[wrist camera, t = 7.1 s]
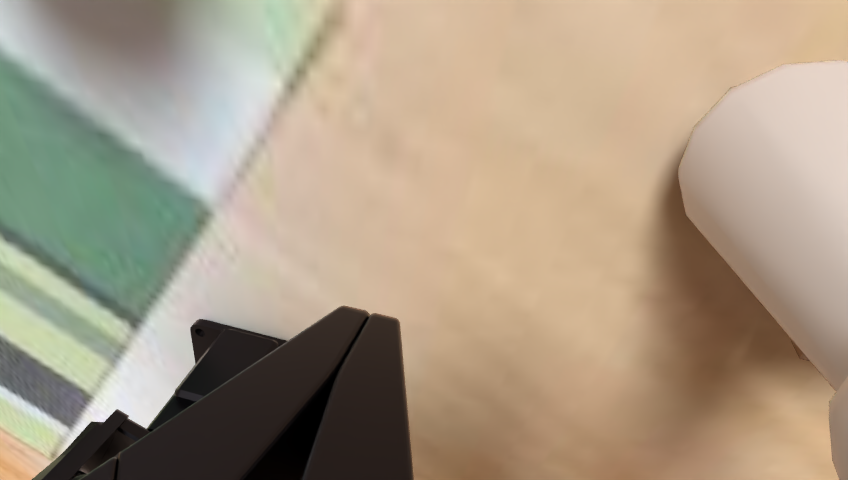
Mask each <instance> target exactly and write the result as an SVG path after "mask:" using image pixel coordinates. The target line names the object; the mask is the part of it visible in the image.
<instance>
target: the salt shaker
mask: <svg viewBox="0 0 848 480" xmlns="http://www.w3.org/2000/svg"><path fill="white" fill-rule="evenodd" d="M678 178H679V183H680V188H681V193H682V198H683V203H684V208H685V213H686V216H687V217H688V218H689V219H690V220H691V222H692V223H693V224H694V225H695V226H696V227H697V229H698V230H699V231H700V232H701V233H702V234H703V236H704V237H705V238H706V239H707V240H708V241H709V243H710V244H711V245H712V246H713V247H714V249H715V250H716V251H717V252H718V253H719V254H720V256H721V257H722V258H723V259H724V260H725V261H726V263H727V264H728V265H729V266H730V267H731V268H732V270H733V271H734V272H735V273H736V274H737V276H738V277H739V278H740V279H741V280H742V281H743V283H744V284H745V285H746V286H747V287H748V288H749V290H750V291H751V292H752V293H753V294H754V296H755V297H756V298H757V299H758V300H759V301H760V303H761V304H762V305H763V306H764V307H765V308H766V310H767V311H768V312H769V313H770V314H771V315H772V317H773V318H774V319H775V320H776V321H777V323H778V324H779V325H780V326H781V327H782V328H783V330H784V331H785V332H786V333H787V334H788V335H789V337H790V338H791V339H792V340H793V341H794V342H795V344H796V345H797V346H798V347H799V348H800V350H801V351H802V352H803V353H804V354H805V355H806V357H807V358H808V359H809V360H810V361H811V362H812V364H813V365H814V366H815V367H816V368H817V370H818V371H819V372H820V373H821V374H822V375H823V377H824V378H825V379H826V380H827V381H828V382H829V384H830V385H831V386H832V387H833V388H834V389H835V391H836V393H835V394H834V396H833V397H832V399H831V400H830V401H829V424H830V437H831V450H832V461H833V463H834V466H835V469H836V472H837V474H838V477H839V480H848V62H846V61H842V60H833V61H820V62H808V63H795V64H783V65H781V66H778V67H776V68H774V69H772V70H770V71H768V72H766V73H764V74H761V75H759V76H757V77H755V78H753V79H751V80H749V81H747V82H744V83H742V84H740V85H738V86H735V87H731V88H730V89H729V90H728V92H727V93H726V94H725V95H724V96H723V97H722V98H721V99H720V100H719V101H718V102H717V103H716V104H715V105H714V106H713V107H712V108H711V110H710V111H709V112H708V113H707V114H706V115H705V116H704V117H703V118H702V119H701V120H700V121H699V122H698V123H697V124H696V125H695V126H694V128H693V131H692V134H691V136H690V139H689V142H688V144H687V147H686V150H685V152H684V155H683V157H682V160H681V163H680V165H679V168H678Z"/></svg>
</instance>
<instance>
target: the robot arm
mask: <svg viewBox="0 0 848 480" xmlns="http://www.w3.org/2000/svg"><path fill="white" fill-rule="evenodd" d="M191 337H192V343H193V350H194V356H195V363H196V364H195V366H194V367H193V368H192V370H191V371H190V372H189V373H188V375H187V376H186V377H185V378H184V380H183V381H182V382H181V384H180V385H179V386H178V387H177V389H176V390H175V393H174V395H173V396H172V397H171V398H170V400H169V401H168V402H167V404H166V405H165V406H164V407H163V409H162V410H161V411H160V412H159V414H158V415H157V416H156V417H155V419H154V420H153V421H152V423H151V424H150V425H149V426H148V428H147V429H145V428H144V427H142V426H140V425H139V424H137V423H135V422H133V421H132V420H130V419H128V417H129V416H128V415H126V414H125V413H123V412H121V411H120V410H118V409H117V410H116V411H115V412H114V413H113V414H112V415H111V416H110V417H109V418H108V419H107V420H106V421H105V422H91V423H90V424H89V425H88V426H87V427H86V428H85V429H84V430H83V431H82V433H81V434H80V435H79V436H78V437H77V438H76V439H75V440H74V441H73V443H72V444H71V445H70V446H69V447H68V448H67V449H66V450H65V451H64V452H63V453H62V454H61V455H60V456H59V457H58V458H57V459H56V460H55V461H53V462H52V463H51V464H50V465H49V466H47V467H46V468H45V469H44V470H43V471H41V472H40V473H39V474H38V475H37V476H36V477H34V478H33V479H32V480H414V478H413V466H412V455H411V444H410V432H409V421H408V410H407V398H406V387H405V376H404V365H403V353H402V342H401V331H400V322H399V320H398V319H397V318H393V317H389V316H385V315H381V314H377V313H374V314H371V315H370V314H369V313H368V312H367V311H365V310H361V309H357V308H353V307H349V306H341V307H339V308H337V309H336V310H334V311H333V312H331V313H330V314H328V315H327V316H325V317H323V318H322V319H320V320H319V321H317V322H316V323H314V324H313V325H311V326H310V327H308V328H307V329H305V330H304V331H302V332H301V333H299V334H298V335H296V336H295V337H293V338H292V339H290V340H289V341H285V340H281V339H277V338H273V337H270V336H266V335H262V334H258V333H254V332H250V331H246V330H242V329H238V328H234V327H231V326H227V325H223V324H219V323H215V322H211V321H207V320H203V319H199V320H197V321H196V322H195V323H194V324H193V325H192V327H191Z"/></svg>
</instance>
